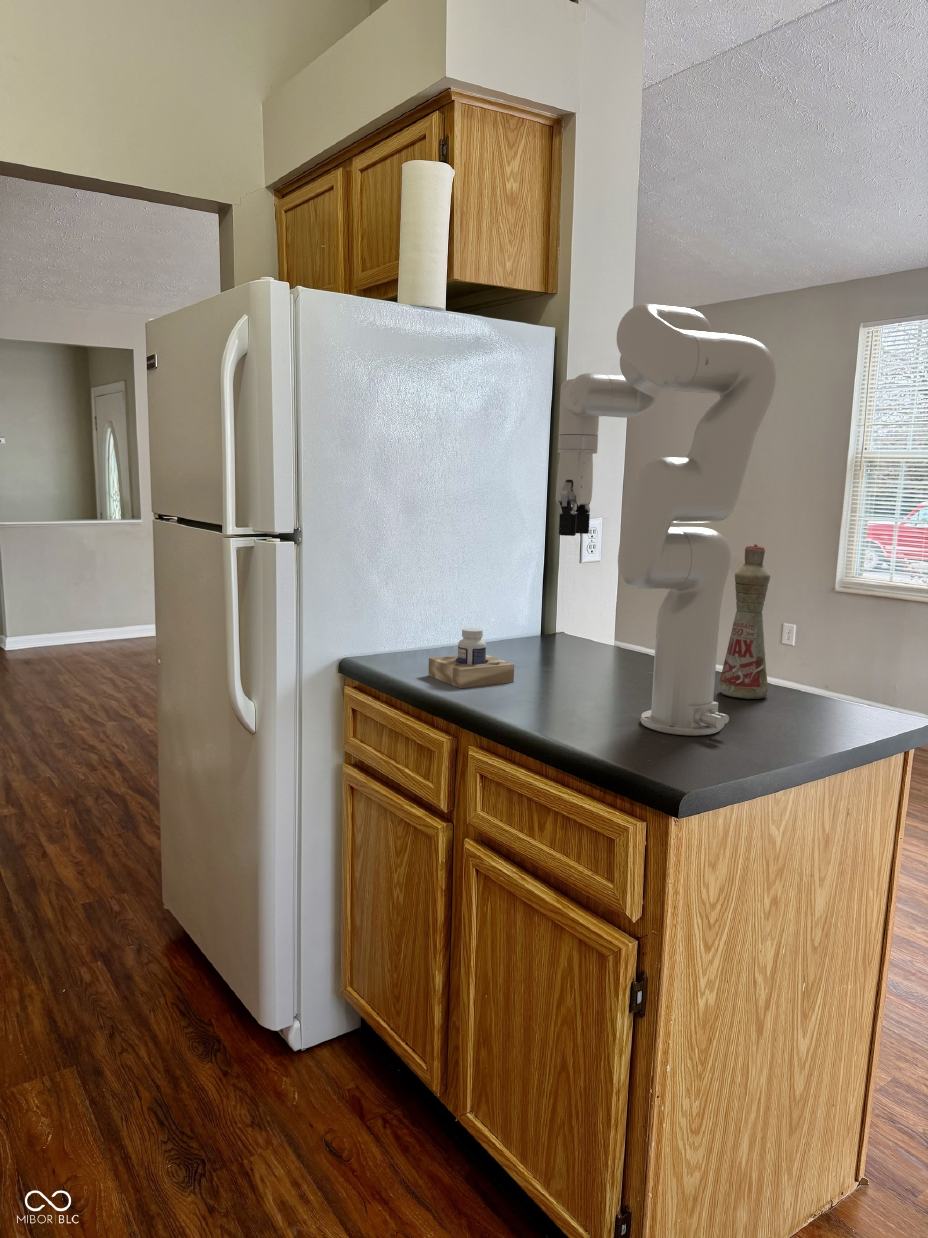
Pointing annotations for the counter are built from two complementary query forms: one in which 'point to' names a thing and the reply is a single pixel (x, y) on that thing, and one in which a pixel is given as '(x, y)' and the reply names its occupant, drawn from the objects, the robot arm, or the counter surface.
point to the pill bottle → (472, 647)
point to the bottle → (747, 632)
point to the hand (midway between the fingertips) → (574, 534)
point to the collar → (471, 671)
